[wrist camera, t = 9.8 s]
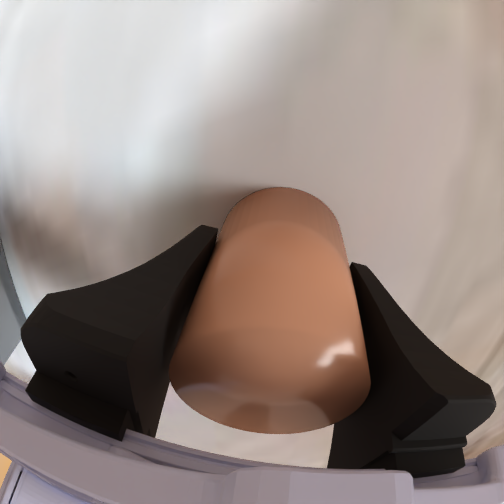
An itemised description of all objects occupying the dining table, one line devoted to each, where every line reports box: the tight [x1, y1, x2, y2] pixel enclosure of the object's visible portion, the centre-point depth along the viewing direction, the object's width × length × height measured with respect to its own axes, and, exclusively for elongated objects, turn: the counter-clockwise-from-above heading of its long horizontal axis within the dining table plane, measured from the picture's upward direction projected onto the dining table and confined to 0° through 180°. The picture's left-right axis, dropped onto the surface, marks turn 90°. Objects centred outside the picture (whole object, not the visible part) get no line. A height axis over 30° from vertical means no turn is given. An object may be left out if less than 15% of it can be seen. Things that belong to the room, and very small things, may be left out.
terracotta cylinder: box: [169, 187, 371, 434], centre depth 10 cm, size 5×5×7 cm
